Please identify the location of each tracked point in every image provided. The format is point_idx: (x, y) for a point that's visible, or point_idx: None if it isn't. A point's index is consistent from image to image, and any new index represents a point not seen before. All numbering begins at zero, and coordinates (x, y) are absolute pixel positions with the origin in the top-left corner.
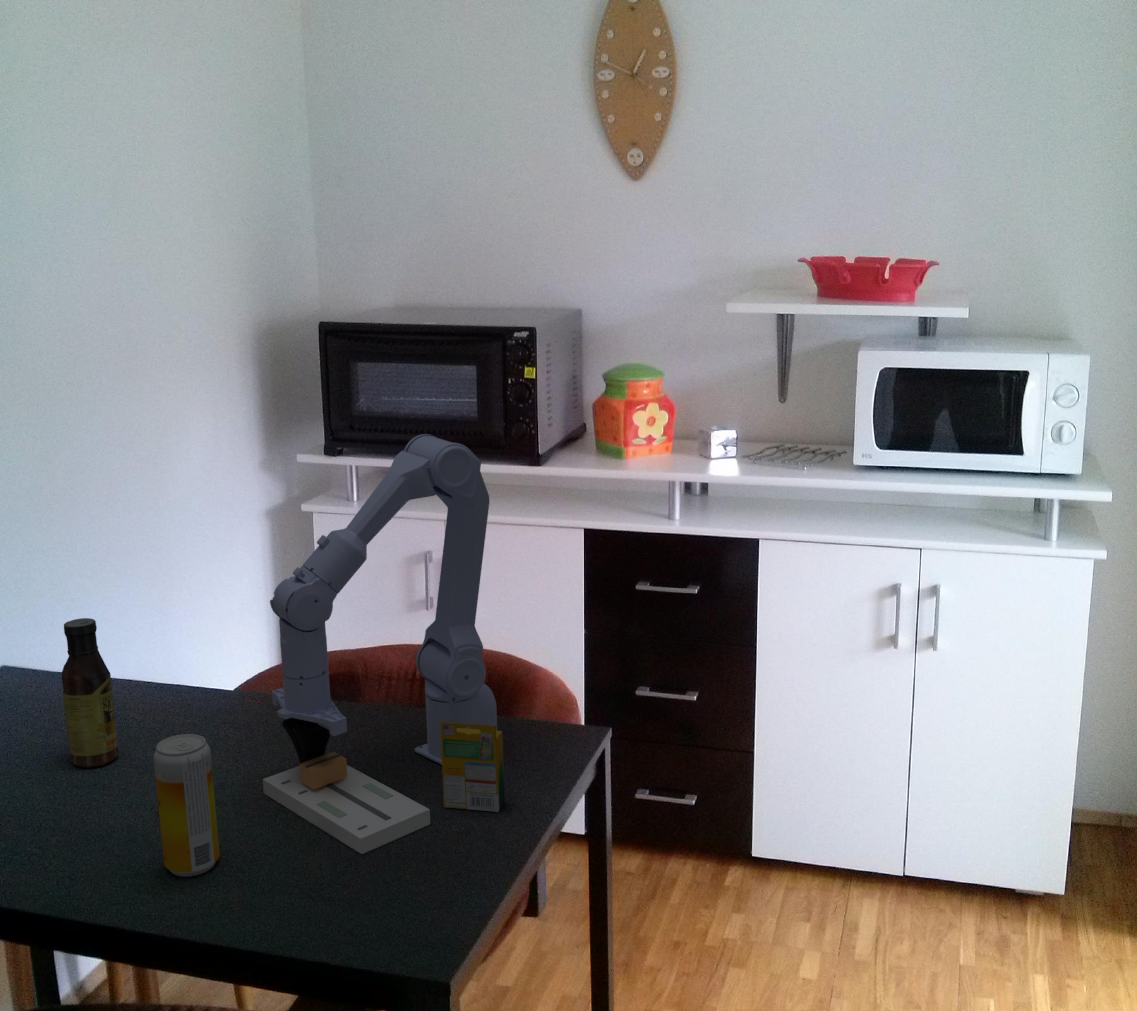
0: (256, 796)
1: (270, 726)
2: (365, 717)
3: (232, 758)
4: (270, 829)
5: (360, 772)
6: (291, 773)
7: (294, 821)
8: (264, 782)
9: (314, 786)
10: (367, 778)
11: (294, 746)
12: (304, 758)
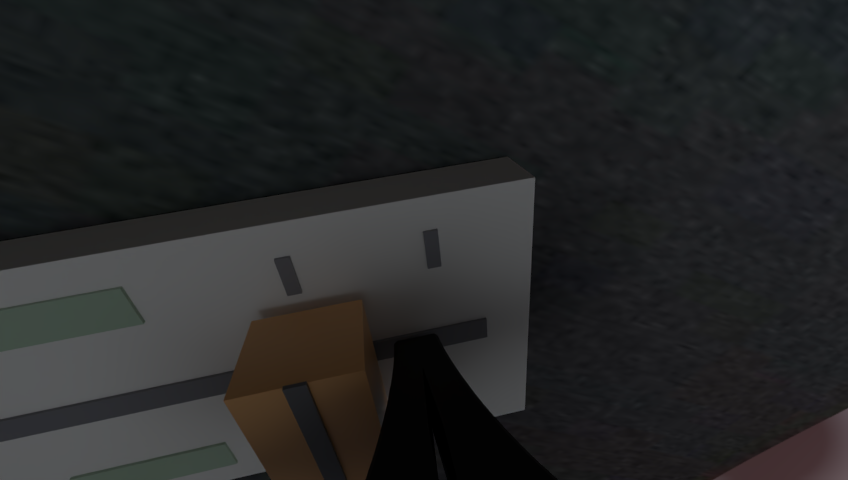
0: (508, 122)
1: (839, 318)
2: (664, 470)
3: (820, 166)
4: (141, 38)
5: None
6: (493, 289)
7: (185, 168)
8: (516, 176)
9: (248, 334)
10: None
11: (495, 422)
12: (397, 403)
